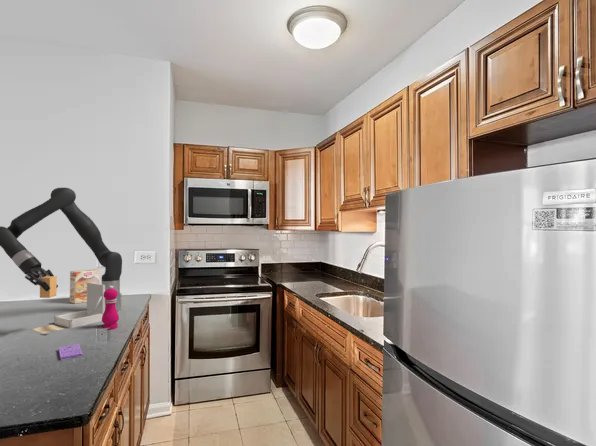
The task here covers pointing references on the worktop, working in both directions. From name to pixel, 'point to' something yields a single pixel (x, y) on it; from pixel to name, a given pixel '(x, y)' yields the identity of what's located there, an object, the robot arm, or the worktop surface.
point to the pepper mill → (110, 309)
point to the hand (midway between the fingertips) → (52, 288)
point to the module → (52, 283)
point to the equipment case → (93, 309)
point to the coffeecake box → (81, 284)
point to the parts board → (47, 329)
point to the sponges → (70, 351)
